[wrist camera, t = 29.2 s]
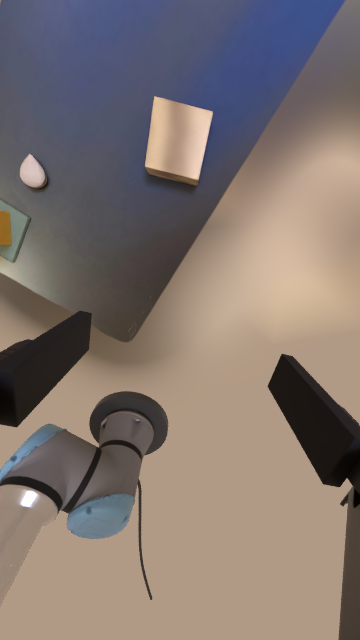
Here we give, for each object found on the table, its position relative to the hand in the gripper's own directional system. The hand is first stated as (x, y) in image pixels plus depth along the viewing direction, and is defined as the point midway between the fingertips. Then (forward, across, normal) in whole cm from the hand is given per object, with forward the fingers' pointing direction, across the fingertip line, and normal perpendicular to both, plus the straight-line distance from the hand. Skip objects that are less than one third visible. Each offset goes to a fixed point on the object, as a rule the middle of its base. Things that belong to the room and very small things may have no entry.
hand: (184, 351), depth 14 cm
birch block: (+32, -6, +21) cm, 39 cm away
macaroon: (+32, -31, +13) cm, 46 cm away
